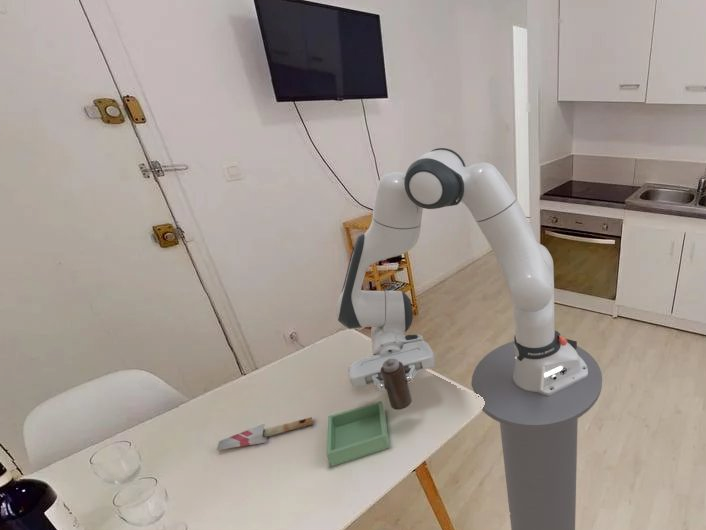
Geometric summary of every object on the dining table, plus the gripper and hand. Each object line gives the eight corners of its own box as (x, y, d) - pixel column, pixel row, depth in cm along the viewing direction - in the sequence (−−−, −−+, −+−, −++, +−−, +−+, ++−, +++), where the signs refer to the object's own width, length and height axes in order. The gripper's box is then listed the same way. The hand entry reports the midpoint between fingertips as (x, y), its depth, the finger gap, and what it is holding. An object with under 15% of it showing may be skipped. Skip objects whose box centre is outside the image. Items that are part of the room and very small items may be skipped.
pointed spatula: (217, 435, 97) (311, 411, 105) (221, 443, 99) (313, 419, 106) (213, 447, 94) (310, 422, 102) (217, 455, 96) (312, 430, 103)
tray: (385, 412, 107) (381, 400, 105) (389, 447, 97) (385, 435, 95) (332, 427, 103) (328, 416, 101) (331, 466, 93) (326, 454, 91)
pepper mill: (410, 392, 103) (399, 350, 96) (413, 406, 99) (402, 362, 92) (389, 399, 101) (377, 356, 95) (391, 412, 97) (378, 368, 91)
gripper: (345, 353, 102) (345, 387, 91) (427, 332, 109) (436, 362, 98) (351, 372, 105) (352, 408, 94) (431, 351, 112) (441, 382, 101)
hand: (396, 384), depth 96 cm, fingers closed on pepper mill, 5 cm apart
